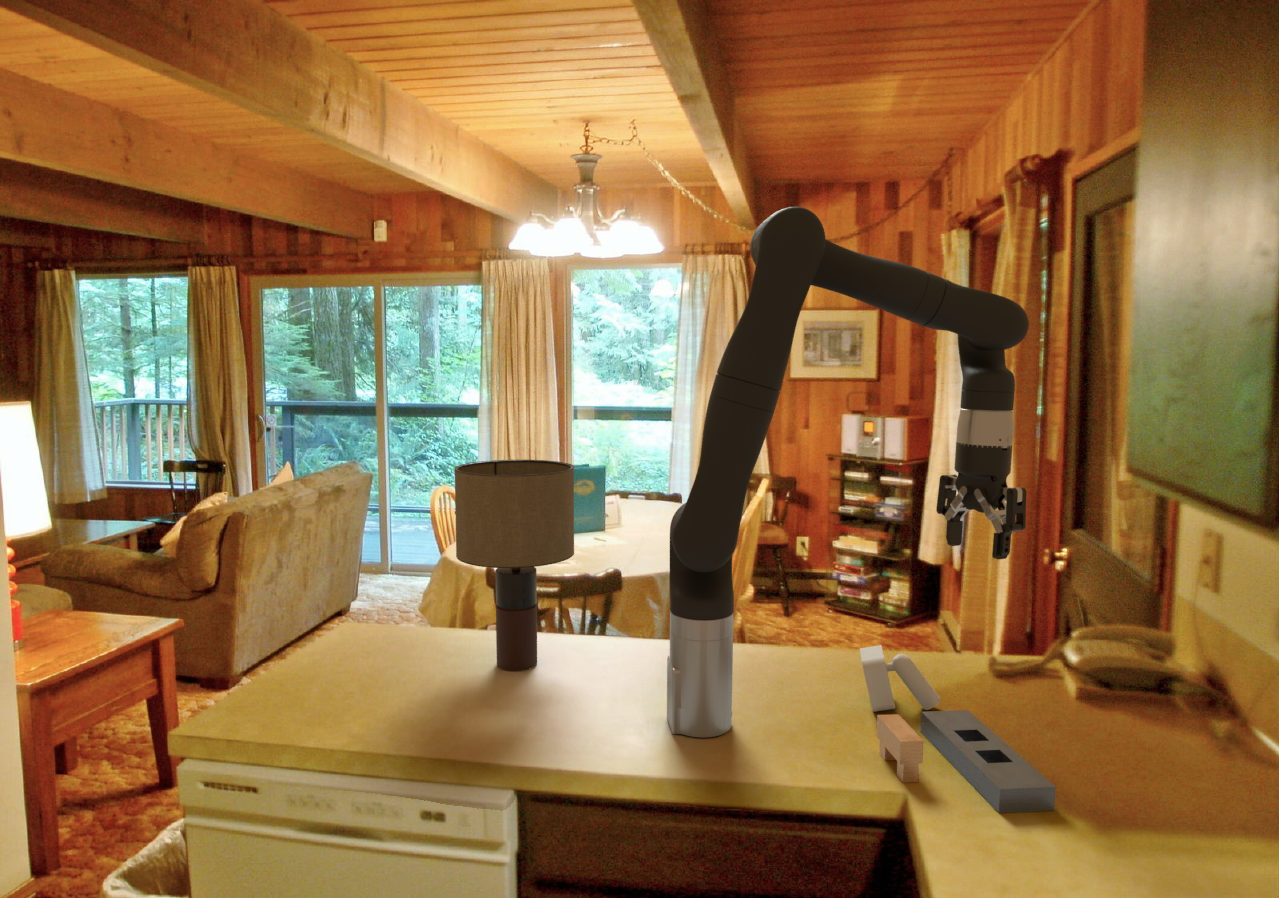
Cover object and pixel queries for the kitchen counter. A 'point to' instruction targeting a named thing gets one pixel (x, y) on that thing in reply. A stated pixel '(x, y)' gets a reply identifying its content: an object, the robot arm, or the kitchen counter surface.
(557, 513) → the lamp
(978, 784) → the rail
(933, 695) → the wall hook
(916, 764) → the wooden block
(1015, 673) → the kitchen counter surface
